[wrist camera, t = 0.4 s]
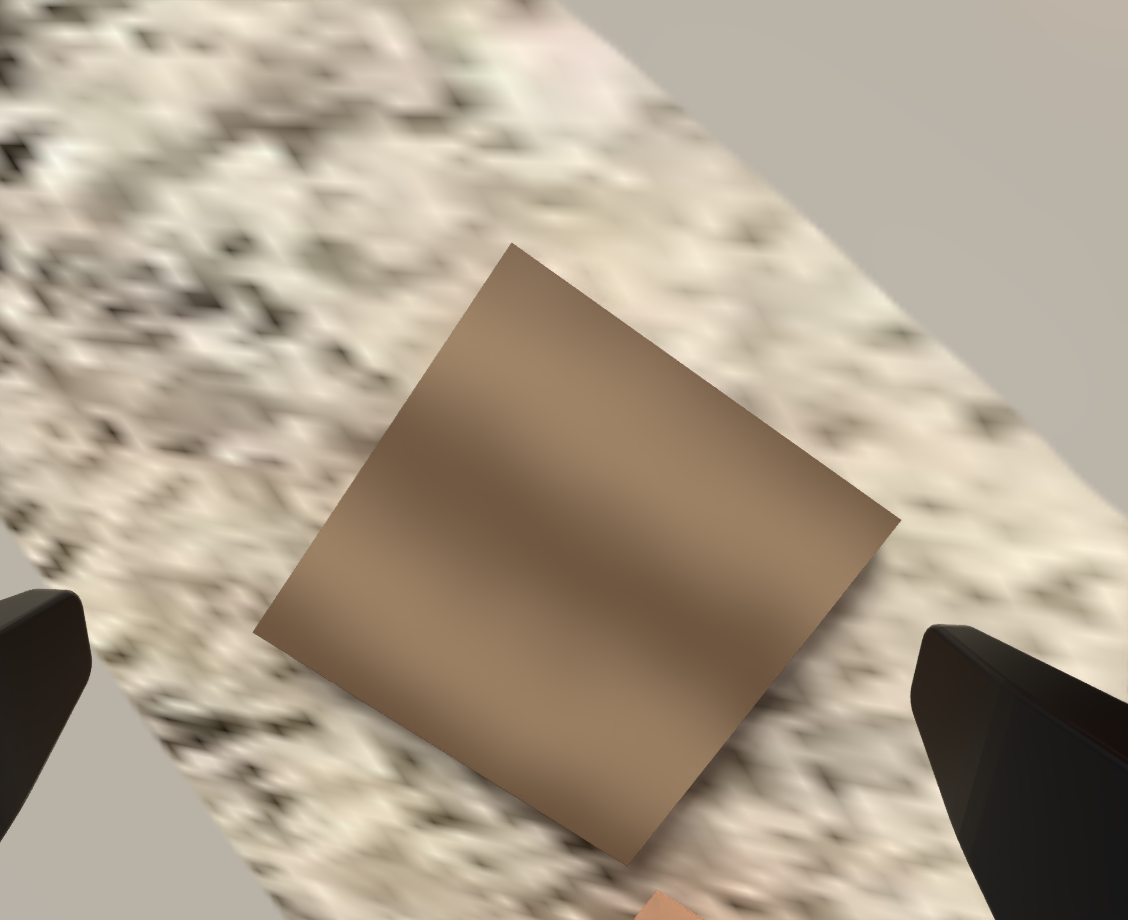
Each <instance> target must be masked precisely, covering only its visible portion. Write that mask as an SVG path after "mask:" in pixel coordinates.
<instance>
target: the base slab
mask: <svg viewBox="0 0 1128 920" xmlns="http://www.w3.org/2000/svg"><path fill="white" fill-rule="evenodd" d="M900 521H901V519H899V518H898V517H896V516H895V515H894V514H892V513H891V512H889V511H888V510H886V509H885V508H884V507H882V506H881V505H879V504H878V503H877V502H875V501H874V500H872V499H871V498H870V497H868V496H867V495H865V494H864V493H863V492H861V491H860V490H858V489H857V488H856V487H854V486H853V485H851V484H850V483H849V482H847V481H846V480H844V479H843V478H842V477H840V476H839V475H837V474H836V473H835V472H833V471H832V470H830V469H829V468H827V467H826V466H825V465H823V464H822V463H820V462H819V461H818V460H816V459H815V458H813V457H812V456H811V455H809V454H808V453H806V452H805V451H804V450H802V449H801V448H799V447H798V446H797V445H795V444H794V443H792V442H791V441H790V440H788V439H787V438H785V437H784V436H783V435H781V434H780V433H778V432H777V431H776V430H774V429H773V428H771V427H770V426H769V425H767V424H766V423H764V422H763V421H761V420H760V419H759V418H757V417H756V416H754V415H753V414H752V413H750V412H749V411H747V410H746V409H745V408H743V407H742V406H740V405H739V404H738V403H736V402H735V401H733V400H732V399H731V398H729V397H728V396H726V395H725V394H724V393H722V392H721V391H719V390H718V389H717V388H715V387H714V386H712V385H711V384H710V383H708V382H707V381H705V380H704V379H702V378H701V377H700V376H698V375H697V374H695V373H694V372H693V371H691V370H690V369H688V368H687V367H686V366H684V365H683V364H681V363H680V362H679V361H677V360H676V359H674V358H673V357H672V356H670V355H669V354H667V353H666V352H665V351H663V350H662V349H660V348H659V347H658V346H656V345H655V344H653V343H652V342H651V341H649V340H648V339H646V338H645V337H643V336H642V335H641V334H639V333H638V332H636V331H635V330H634V329H632V328H631V327H629V326H628V325H627V324H625V323H624V322H622V321H621V320H620V319H618V318H617V317H615V316H614V315H613V314H611V313H610V312H608V311H607V310H606V309H604V308H603V307H601V306H600V305H599V304H597V303H596V302H594V301H593V300H592V299H590V298H589V297H587V296H586V295H585V294H583V293H582V292H580V291H579V290H577V289H576V288H575V287H573V286H572V285H570V284H569V283H568V282H566V281H565V280H563V279H562V278H561V277H559V276H558V275H556V274H555V273H554V272H552V271H551V270H549V269H548V268H547V267H545V266H544V265H542V264H541V263H540V262H538V261H537V260H535V259H534V258H533V257H531V256H530V255H528V254H527V253H526V252H524V251H523V250H521V249H520V248H518V247H517V246H516V245H514V244H513V243H511V244H510V246H509V247H508V249H507V250H506V252H505V253H504V255H503V256H502V258H501V259H500V261H499V262H498V264H497V265H496V267H495V268H494V270H493V271H492V273H491V274H490V276H489V277H488V279H487V280H486V282H485V283H484V285H483V286H482V288H481V289H480V291H479V292H478V294H477V296H476V297H475V299H474V300H473V302H472V303H471V305H470V306H469V308H468V309H467V311H466V312H465V314H464V315H463V317H462V318H461V320H460V321H459V323H458V324H457V326H456V327H455V329H454V330H453V332H452V333H451V335H450V336H449V338H448V339H447V341H446V342H445V344H444V345H443V347H442V348H441V350H440V351H439V353H438V354H437V356H436V357H435V359H434V360H433V362H432V363H431V365H430V366H429V368H428V369H427V371H426V372H425V374H424V375H423V377H422V378H421V380H420V381H419V383H418V384H417V386H416V387H415V389H414V390H413V392H412V393H411V395H410V396H409V398H408V399H407V401H406V402H405V404H404V405H403V407H402V408H401V410H400V411H399V413H398V414H397V416H396V417H395V419H394V420H393V422H392V423H391V425H390V426H389V428H388V429H387V431H386V432H385V434H384V435H383V437H382V438H381V440H380V441H379V443H378V444H377V446H376V448H375V449H374V451H373V452H372V454H371V455H370V457H369V458H368V460H367V461H366V463H365V464H364V466H363V467H362V469H361V470H360V472H359V473H358V475H357V476H356V478H355V479H354V481H353V482H352V484H351V485H350V487H349V488H348V490H347V491H346V493H345V494H344V496H343V497H342V499H341V500H340V502H339V503H338V505H337V506H336V508H335V509H334V511H333V512H332V514H331V515H330V517H329V518H328V520H327V521H326V523H325V524H324V526H323V527H322V529H321V530H320V532H319V533H318V535H317V536H316V538H315V539H314V541H313V542H312V544H311V545H310V547H309V548H308V550H307V551H306V553H305V554H304V556H303V557H302V559H301V560H300V562H299V563H298V565H297V566H296V568H295V569H294V571H293V572H292V574H291V575H290V577H289V578H288V580H287V581H286V583H285V584H284V586H283V587H282V589H281V590H280V592H279V593H278V595H277V596H276V598H275V600H274V601H273V603H272V604H271V606H270V607H269V609H268V610H267V612H266V613H265V615H264V616H263V618H262V619H261V621H260V622H259V624H258V625H257V627H256V628H255V630H254V631H253V633H254V634H256V635H258V636H259V637H261V638H262V639H264V640H266V641H267V642H269V643H270V644H272V645H274V646H275V647H277V648H278V649H280V650H282V651H283V652H285V653H286V654H288V655H290V656H291V657H293V658H294V659H296V660H298V661H299V662H301V663H302V664H304V665H306V666H307V667H309V668H310V669H312V670H314V671H315V672H317V673H318V674H320V675H322V676H323V677H325V678H326V679H328V680H330V681H331V682H333V683H334V684H336V685H338V686H339V687H341V688H342V689H344V690H346V691H347V692H349V693H350V694H352V695H354V696H355V697H357V698H358V699H360V700H362V701H363V702H365V703H366V704H368V705H370V706H371V707H373V708H374V709H376V710H378V711H379V712H381V713H382V714H384V715H386V716H387V717H389V718H391V719H392V720H394V721H395V722H397V723H399V724H400V725H402V726H403V727H405V728H407V729H408V730H410V731H411V732H413V733H415V734H416V735H418V736H419V737H421V738H423V739H424V740H426V741H427V742H429V743H431V744H432V745H434V746H435V747H437V748H439V749H440V750H442V751H443V752H445V753H447V754H448V755H450V756H451V757H453V758H455V759H456V760H458V761H459V762H461V763H463V764H464V765H466V766H467V767H469V768H471V769H472V770H474V771H475V772H477V773H479V774H480V775H482V776H483V777H485V778H487V779H488V780H490V781H491V782H493V783H495V784H496V785H498V786H499V787H501V788H503V789H504V790H506V791H507V792H509V793H511V794H512V795H514V796H515V797H517V798H519V799H520V800H522V801H523V802H525V803H527V804H528V805H530V806H531V807H533V808H535V809H536V810H538V811H539V812H541V813H543V814H544V815H546V816H547V817H549V818H551V819H552V820H554V821H555V822H557V823H559V824H560V825H562V826H564V827H565V828H567V829H568V830H570V831H572V832H573V833H575V834H576V835H578V836H580V837H581V838H583V839H584V840H586V841H588V842H589V843H591V844H592V845H594V846H596V847H597V848H599V849H600V850H602V851H604V852H605V853H607V854H608V855H610V856H612V857H613V858H615V859H616V860H618V861H620V862H621V863H623V864H624V865H626V866H628V864H629V863H630V862H631V861H632V859H633V858H634V857H635V856H636V854H637V853H638V852H639V850H640V849H641V848H642V847H643V845H644V844H645V843H646V842H647V840H648V839H649V838H650V837H651V835H652V834H653V833H654V832H655V830H656V829H657V828H658V827H659V825H660V824H661V823H662V821H663V820H664V819H665V818H666V816H667V815H668V814H669V813H670V811H671V810H672V809H673V808H674V806H675V805H676V804H677V803H678V801H679V800H680V799H681V797H682V796H683V795H684V794H685V792H686V791H687V790H688V789H689V787H690V786H691V785H692V784H693V782H694V781H695V780H696V779H697V777H698V776H699V775H700V774H701V772H702V771H703V770H704V768H705V767H706V766H707V765H708V763H709V762H710V761H711V760H712V758H713V757H714V756H715V755H716V753H717V752H718V751H719V750H720V748H721V747H722V746H723V745H724V743H725V742H726V741H727V739H728V738H729V737H730V736H731V734H732V733H733V732H734V731H735V729H736V728H737V727H738V726H739V724H740V723H741V722H742V721H743V719H744V718H745V717H746V716H747V714H748V713H749V712H750V710H751V709H752V708H753V707H754V705H755V704H756V703H757V702H758V700H759V699H760V698H761V697H762V695H763V694H764V693H765V692H766V690H767V689H768V688H769V687H770V685H771V684H772V683H773V681H774V680H775V679H776V678H777V676H778V675H779V674H780V673H781V671H782V670H783V669H784V668H785V666H786V665H787V664H788V663H789V661H790V660H791V659H792V657H793V656H794V655H795V654H796V652H797V651H798V650H799V649H800V647H801V646H802V645H803V644H804V642H805V641H806V640H807V639H808V637H809V636H810V635H811V634H812V632H813V631H814V630H815V628H816V627H817V626H818V625H819V623H820V622H821V621H822V620H823V618H824V617H825V616H826V615H827V613H828V612H829V611H830V610H831V608H832V607H833V606H834V605H835V603H836V602H837V601H838V599H839V598H840V597H841V596H842V594H843V593H844V592H845V591H846V589H847V588H848V587H849V586H850V584H851V583H852V582H853V581H854V579H855V578H856V577H857V576H858V574H859V573H860V572H861V570H862V569H863V568H864V567H865V565H866V564H867V563H868V562H869V560H870V559H871V558H872V557H873V555H874V554H875V553H876V552H877V550H878V549H879V548H880V547H881V545H882V544H883V543H884V541H885V540H886V539H887V538H888V536H889V535H890V534H891V533H892V531H893V530H894V529H895V528H896V526H897V525H898V524H899V523H900Z"/></svg>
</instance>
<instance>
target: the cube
mask: <svg viewBox="0 0 1128 920" xmlns="http://www.w3.org/2000/svg"><path fill="white" fill-rule="evenodd" d="M634 920H704V919H702V918H701V917H699V916H698V915H696V914H694V913H693V912H691V911H690V910H688V909H687V908H685V907H683V906H682V905H680V904H679V903H677V902H675V901H674V900H672V899H671V898H669V897H667V896H666V895H664V894H663V893H661V892H660V891H658V890H657V891H656V892H655V894H654V895H653V896H652V897H651V899H650V900H649V901H648V902H647V903H646V905H645V906H644V907H643V908H642V910H641V911H640V912H639V913H638V915H637V916H636V917H635V918H634Z"/></svg>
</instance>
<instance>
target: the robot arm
mask: <svg viewBox="0 0 1128 920" xmlns="http://www.w3.org/2000/svg"><path fill="white" fill-rule="evenodd" d="M91 667H92V656H91V650H90V644H89V639H88V633H87V627H86V621H85V616H84V610H83V605H82V602H81V600H80V598H79V596H78V595H77V594H75V593H74V592H73V591H70V590H56V589H32V590H29V591H26V592H23V593H20V594H17V595H14V596H12V597H9V598H6V599H3V600H0V842H1V840H2V839H3V837H4V836H5V834H6V833H7V831H8V829H9V828H10V826H11V824H12V823H13V821H14V820H15V818H16V816H17V815H18V813H19V812H20V810H21V808H22V806H23V805H24V803H25V801H26V799H27V798H28V796H29V794H30V792H31V790H32V789H33V787H34V784H35V783H36V781H37V779H38V777H39V775H40V773H41V771H42V769H43V767H44V766H45V764H46V762H47V760H48V758H49V756H50V754H51V752H52V750H53V748H54V746H55V744H56V742H57V740H58V738H59V736H60V735H61V733H62V731H63V729H64V727H65V725H66V723H67V721H68V719H69V717H70V715H71V713H72V711H73V709H74V707H75V705H76V704H77V702H78V700H79V698H80V696H81V694H82V692H83V690H84V688H85V686H86V684H87V682H88V679H89V676H90V672H91ZM910 698H911V707H912V712H913V715H914V718H915V721H916V724H917V726H918V729H919V732H920V735H921V738H922V741H923V744H924V747H925V749H926V752H927V755H928V758H929V761H930V764H931V767H932V770H933V772H934V775H935V778H936V781H937V784H938V787H939V790H940V793H941V795H942V798H943V801H944V804H945V807H946V810H947V813H948V816H949V818H950V821H951V824H952V826H953V829H954V831H955V834H956V837H957V839H958V841H959V844H960V846H961V848H962V850H963V853H964V855H965V857H966V859H967V862H968V864H969V866H970V868H971V870H972V872H973V874H974V876H975V879H976V881H977V883H978V885H979V887H980V889H981V891H982V893H983V895H984V898H985V900H986V902H987V904H988V906H989V908H990V910H991V912H992V914H993V917H994V919H995V920H1128V704H1127V703H1125V702H1123V701H1121V700H1119V699H1117V698H1115V697H1113V696H1111V695H1109V694H1107V693H1105V692H1103V691H1101V690H1099V689H1097V688H1095V687H1093V686H1091V685H1089V684H1087V683H1085V682H1083V681H1081V680H1079V679H1077V678H1075V677H1073V676H1071V675H1069V674H1067V673H1064V672H1062V671H1060V670H1058V669H1056V668H1054V667H1052V666H1050V665H1048V664H1046V663H1044V662H1042V661H1040V660H1038V659H1036V658H1034V657H1032V656H1030V655H1028V654H1026V653H1024V652H1022V651H1020V650H1018V649H1016V648H1014V647H1012V646H1010V645H1008V644H1006V643H1004V642H1002V641H1000V640H998V639H995V638H993V637H991V636H989V635H987V634H985V633H983V632H981V631H979V630H977V629H975V628H973V627H971V626H966V625H947V624H936V625H932V626H931V627H929V628H928V629H927V630H926V632H925V634H924V636H923V639H922V643H921V648H920V652H919V656H918V660H917V665H916V669H915V673H914V677H913V682H912V686H911V695H910Z"/></svg>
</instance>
